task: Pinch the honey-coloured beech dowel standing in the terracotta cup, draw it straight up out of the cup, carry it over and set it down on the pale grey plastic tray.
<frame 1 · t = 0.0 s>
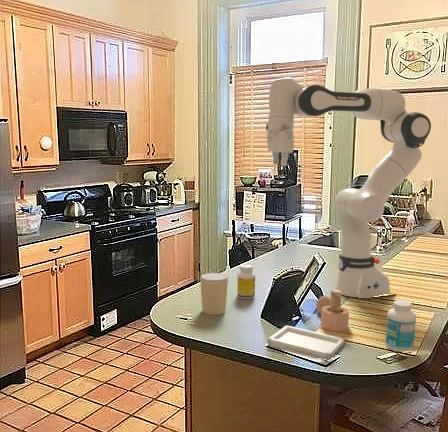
hand: (279, 165, 177), 48 cm above the counter, fingers open, 8 cm apart
pill bottle 2: (399, 350, 139), on the counter
tray: (306, 346, 140), on the counter
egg: (323, 316, 164), on the counter
pill bottle: (245, 297, 182), on the counter
dowel: (334, 326, 153), point 1 cm above the counter, touching cup
coffee cup: (213, 311, 167), on the counter
cup: (334, 328, 153), on the counter
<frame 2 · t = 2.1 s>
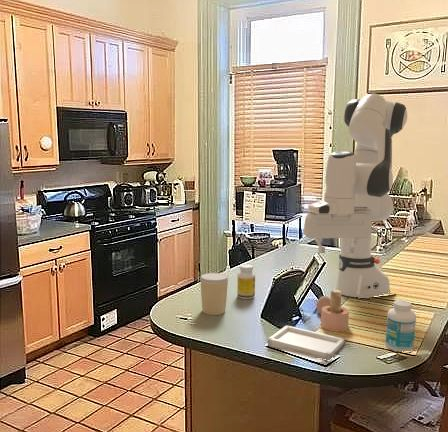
hand: (336, 252, 150), 24 cm above the counter, fingers open, 8 cm apart
nothing on the counter moved.
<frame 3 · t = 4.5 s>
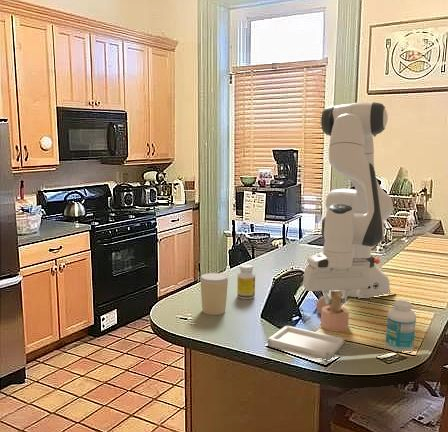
hand: (335, 303, 152), 8 cm above the counter, fingers closed on dowel, 3 cm apart
dowel: (334, 326, 153), point 1 cm above the counter, touching cup, gripper
everything else where it was.
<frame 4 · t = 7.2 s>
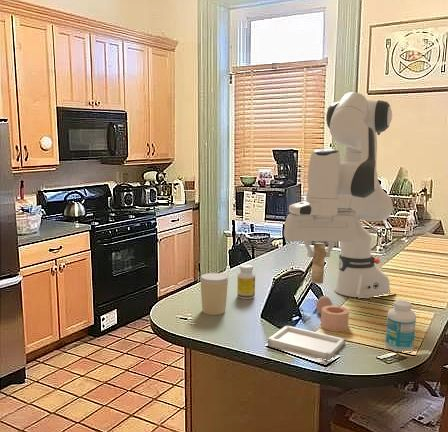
hand: (318, 256, 139), 25 cm above the counter, fingers closed on dowel, 3 cm apart
dowel: (317, 282, 140), point 18 cm above the counter, touching gripper
everything else where it was.
when the fingers open (9 cm above the counter, at t = 10.0 s): dowel stays where it is, resting on tray.
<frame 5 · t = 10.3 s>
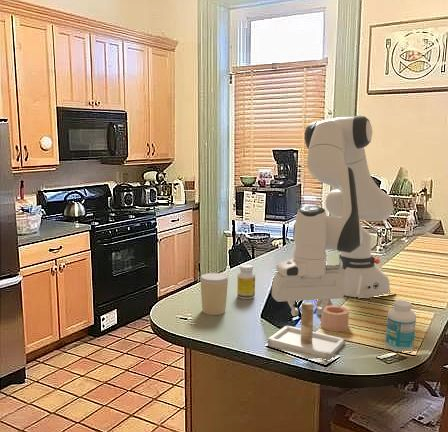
hand: (307, 314, 139), 9 cm above the counter, fingers open, 6 cm apart
dowel: (306, 342, 140), point 1 cm above the counter, touching tray
everything else where it was.
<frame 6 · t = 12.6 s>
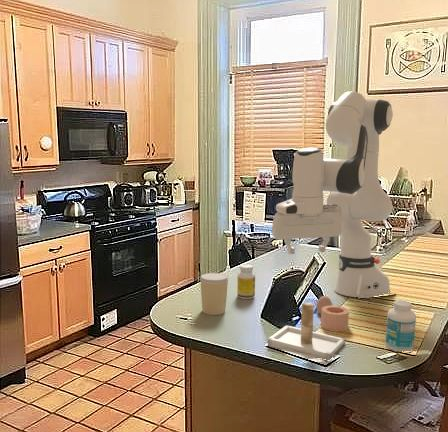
hand: (306, 252, 145), 25 cm above the counter, fingers open, 8 cm apart
nothing on the counter moved.
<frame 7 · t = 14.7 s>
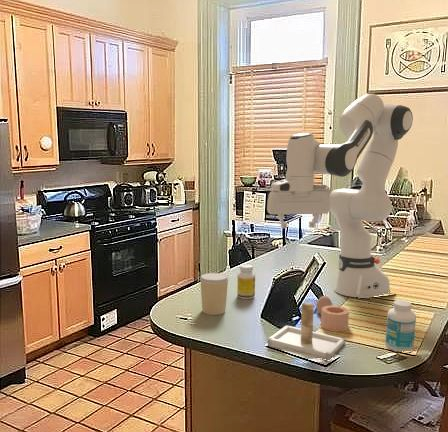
hand: (297, 227, 161), 29 cm above the counter, fingers open, 8 cm apart
nothing on the counter moved.
at the end: dowel 0.0 cm from the tray (horizontally); dowel point 1.2 cm above the counter; the gripper is holding nothing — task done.
